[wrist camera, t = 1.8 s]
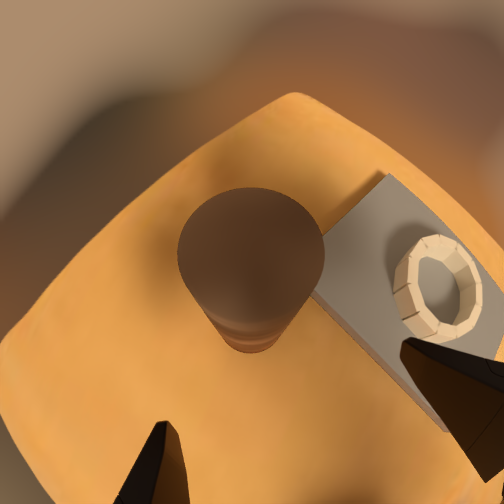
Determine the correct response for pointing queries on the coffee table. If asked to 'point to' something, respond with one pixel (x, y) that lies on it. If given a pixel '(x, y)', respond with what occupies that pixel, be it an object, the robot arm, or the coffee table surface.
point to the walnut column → (251, 263)
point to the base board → (374, 275)
